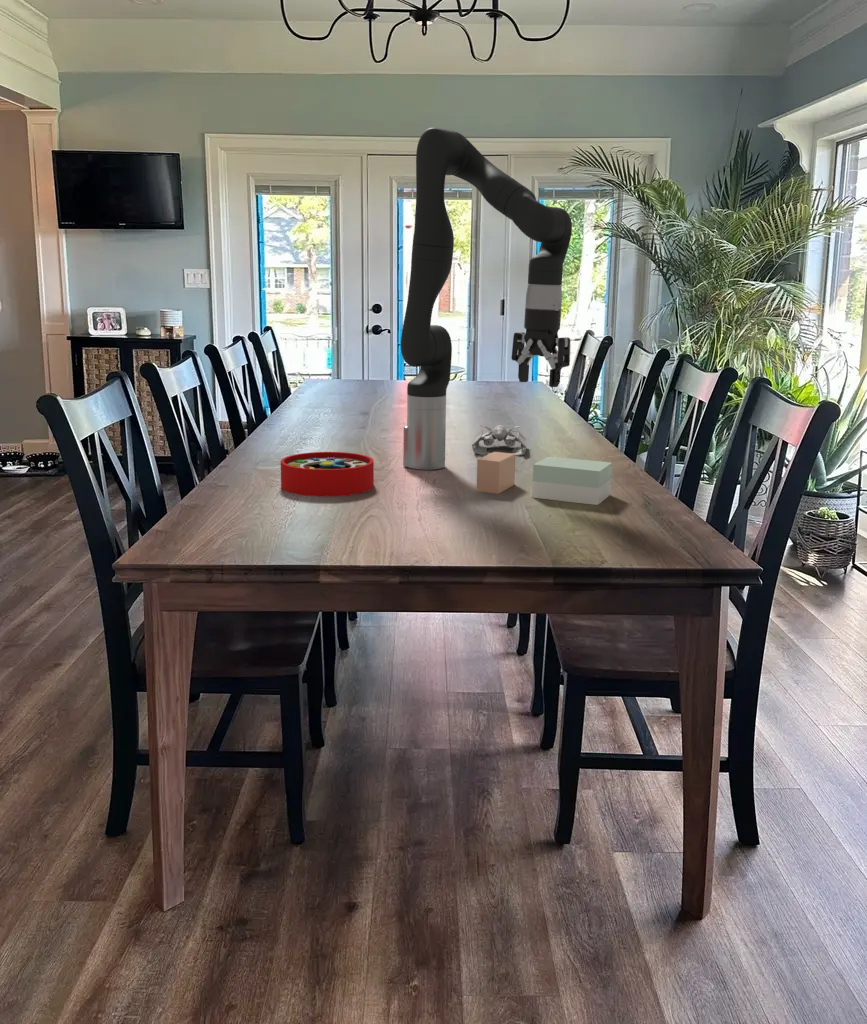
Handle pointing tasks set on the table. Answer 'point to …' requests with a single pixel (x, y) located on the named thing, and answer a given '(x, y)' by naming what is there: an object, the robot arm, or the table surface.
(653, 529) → the table surface
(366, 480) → the toy clock
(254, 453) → the table surface
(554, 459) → the green and white block
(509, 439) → the spaceship toy
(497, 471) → the terracotta brick
